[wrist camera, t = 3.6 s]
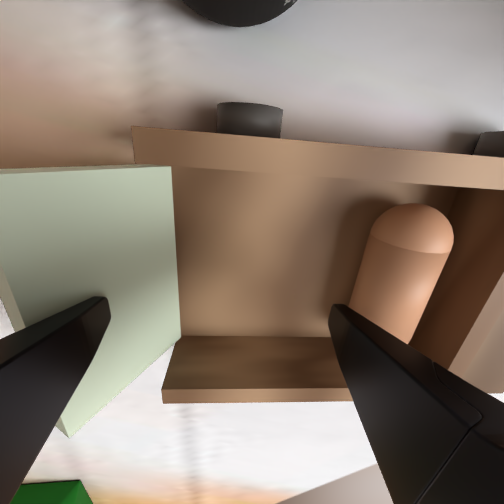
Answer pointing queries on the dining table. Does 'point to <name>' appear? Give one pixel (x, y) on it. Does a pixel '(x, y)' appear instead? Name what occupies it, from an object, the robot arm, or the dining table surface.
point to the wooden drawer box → (315, 254)
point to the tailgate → (93, 265)
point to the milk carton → (52, 493)
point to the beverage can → (240, 10)
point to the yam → (401, 267)
